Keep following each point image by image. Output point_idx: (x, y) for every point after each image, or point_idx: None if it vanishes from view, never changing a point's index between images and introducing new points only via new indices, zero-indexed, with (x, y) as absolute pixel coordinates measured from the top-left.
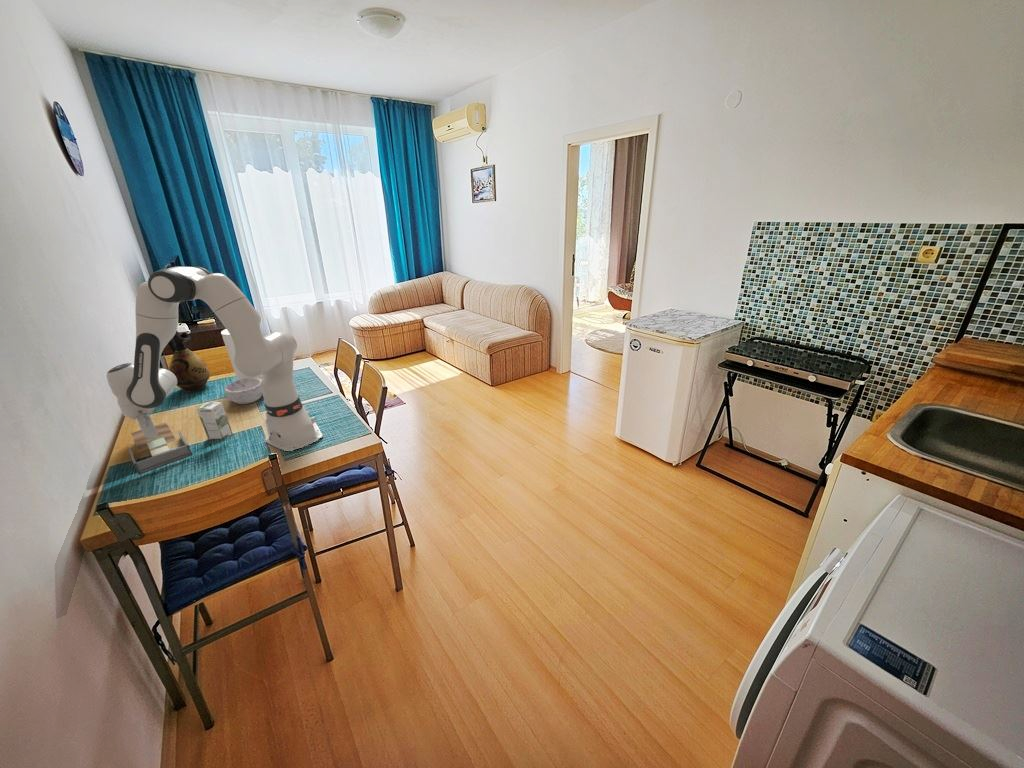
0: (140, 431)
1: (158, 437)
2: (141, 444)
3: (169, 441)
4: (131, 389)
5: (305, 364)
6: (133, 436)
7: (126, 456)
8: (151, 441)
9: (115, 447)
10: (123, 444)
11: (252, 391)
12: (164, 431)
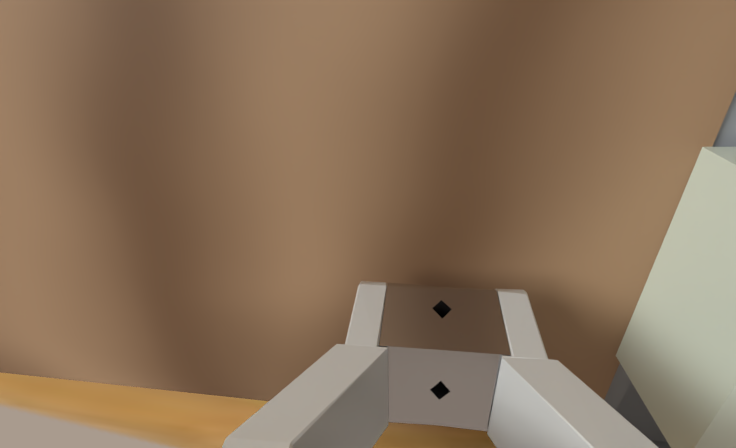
0: None
1: (298, 195)
2: None
3: (717, 80)
4: None
5: None
6: (45, 371)
7: (445, 444)
8: (720, 417)
9: (161, 442)
10: (135, 404)
11: None
12: (81, 66)
